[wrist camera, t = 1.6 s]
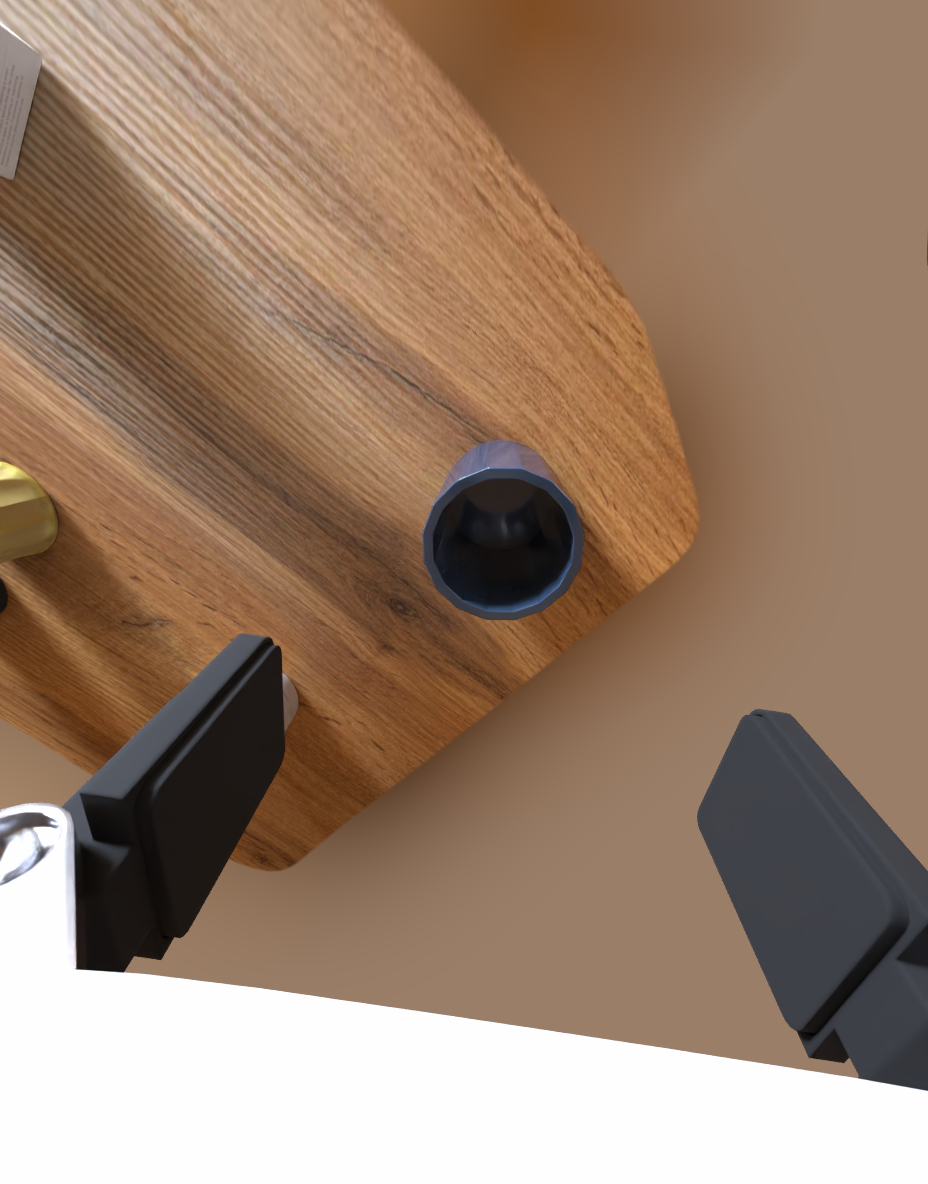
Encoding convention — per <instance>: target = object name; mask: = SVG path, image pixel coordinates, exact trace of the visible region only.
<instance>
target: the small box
mask: <svg viewBox="0 0 928 1184" xmlns="http://www.w3.org/2000/svg"><path fill="white" fill-rule="evenodd" d="M41 63H42V57H41V55H40V54H39V53H38V52H37V51H36V50H34V49H33V48H32V47H31V46H29V45H28V44H27V43H25V42H24V41H23V40H22V39H20V38H19V37H18V36H16V35H15V34H14V33H13V32H12V31H10V30H9V29H8V28H7V27H5V26H4V25H3V24H2V23H0V176H1V177H4V178H6V179H9V180H13V179H14V175H15V171H16V166H17V162H18V158H19V153H20V149H21V144H22V140H23V136H24V132H25V128H26V124H27V120H28V116H29V112H30V108H31V104H32V99H33V95H34V91H35V87H36V83H37V79H38V75H39V71H40V67H41Z"/></svg>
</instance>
